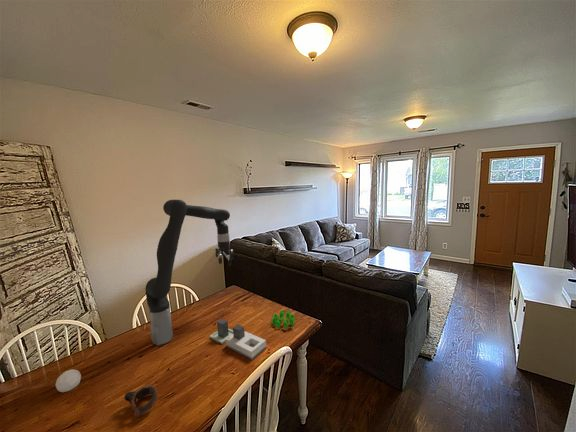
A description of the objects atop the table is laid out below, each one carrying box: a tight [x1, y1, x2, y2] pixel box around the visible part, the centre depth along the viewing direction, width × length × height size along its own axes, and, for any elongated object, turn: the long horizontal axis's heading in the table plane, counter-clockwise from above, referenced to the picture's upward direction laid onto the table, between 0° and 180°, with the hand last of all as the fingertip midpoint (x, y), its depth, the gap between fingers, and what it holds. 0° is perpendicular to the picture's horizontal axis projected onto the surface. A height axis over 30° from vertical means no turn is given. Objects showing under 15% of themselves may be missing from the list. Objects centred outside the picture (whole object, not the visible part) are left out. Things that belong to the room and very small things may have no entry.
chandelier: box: [270, 310, 297, 329], centre depth 142 cm, size 15×15×7 cm
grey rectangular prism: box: [216, 318, 229, 338], centre depth 131 cm, size 4×4×8 cm
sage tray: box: [209, 328, 233, 345], centre depth 132 cm, size 10×10×1 cm
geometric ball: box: [55, 368, 82, 393], centre depth 99 cm, size 8×8×8 cm
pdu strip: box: [225, 324, 267, 361], centre depth 121 cm, size 10×18×9 cm, turn 55°
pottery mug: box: [124, 385, 159, 418], centre depth 90 cm, size 12×9×8 cm
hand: (225, 264), depth 161 cm, fingers open, 8 cm apart
